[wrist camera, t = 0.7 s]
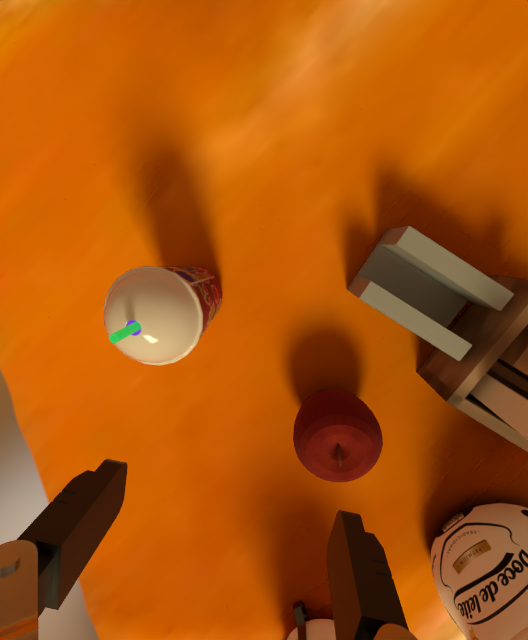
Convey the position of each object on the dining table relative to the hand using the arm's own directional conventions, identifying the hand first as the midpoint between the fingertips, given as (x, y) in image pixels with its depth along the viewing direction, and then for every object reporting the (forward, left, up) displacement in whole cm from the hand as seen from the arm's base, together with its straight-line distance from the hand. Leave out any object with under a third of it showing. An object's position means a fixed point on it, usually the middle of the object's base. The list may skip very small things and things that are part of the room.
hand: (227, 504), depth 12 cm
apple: (+6, +12, -30) cm, 33 cm away
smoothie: (+2, -10, -30) cm, 31 cm away
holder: (-12, +11, -29) cm, 34 cm away
